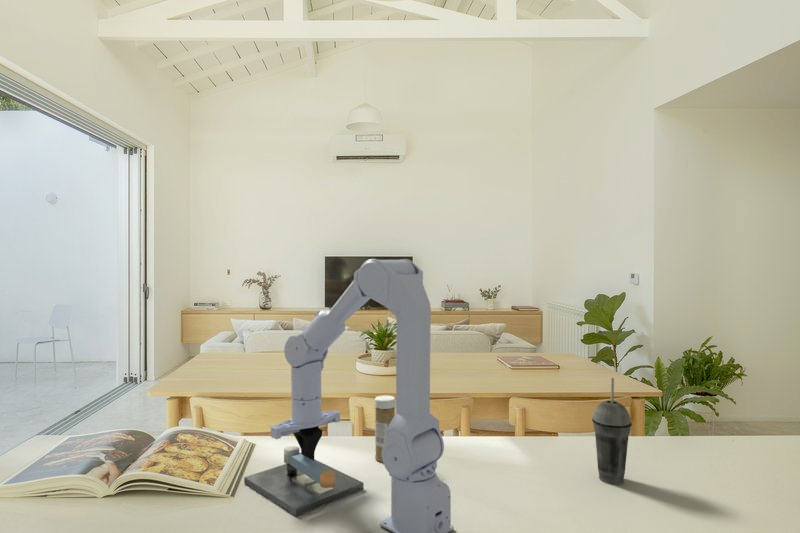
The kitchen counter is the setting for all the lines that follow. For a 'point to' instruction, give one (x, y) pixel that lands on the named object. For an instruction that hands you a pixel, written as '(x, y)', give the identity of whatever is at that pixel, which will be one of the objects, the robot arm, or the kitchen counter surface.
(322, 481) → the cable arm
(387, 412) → the sprinkles bottle
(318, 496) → the board
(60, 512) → the kitchen counter surface
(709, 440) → the kitchen counter surface
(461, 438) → the kitchen counter surface
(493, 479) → the kitchen counter surface
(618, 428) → the beverage cup
